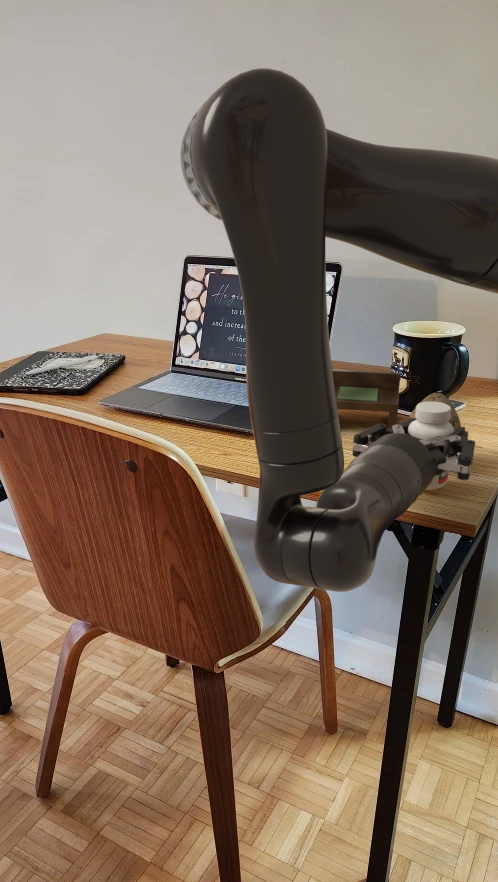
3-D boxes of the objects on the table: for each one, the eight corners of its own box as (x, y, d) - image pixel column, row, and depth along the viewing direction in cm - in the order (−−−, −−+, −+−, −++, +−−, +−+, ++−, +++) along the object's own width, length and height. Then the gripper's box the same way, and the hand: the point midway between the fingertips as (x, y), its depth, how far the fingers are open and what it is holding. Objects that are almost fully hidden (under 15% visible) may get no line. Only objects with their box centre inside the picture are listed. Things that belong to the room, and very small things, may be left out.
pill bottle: (432, 470, 88) (442, 397, 84) (455, 487, 84) (467, 411, 79) (394, 475, 87) (402, 401, 83) (415, 493, 83) (425, 416, 78)
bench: (395, 418, 108) (400, 372, 105) (395, 437, 101) (400, 388, 98) (319, 413, 111) (321, 368, 108) (313, 431, 104) (316, 383, 101)
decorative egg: (395, 469, 91) (403, 397, 87) (407, 450, 97) (415, 382, 92) (451, 479, 88) (462, 405, 84) (460, 458, 94) (470, 388, 90)
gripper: (459, 460, 67) (502, 410, 79) (325, 433, 74) (383, 391, 87) (449, 527, 70) (492, 469, 83) (321, 495, 78) (378, 446, 90)
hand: (436, 429), depth 85 cm, fingers closed on pill bottle, 5 cm apart
